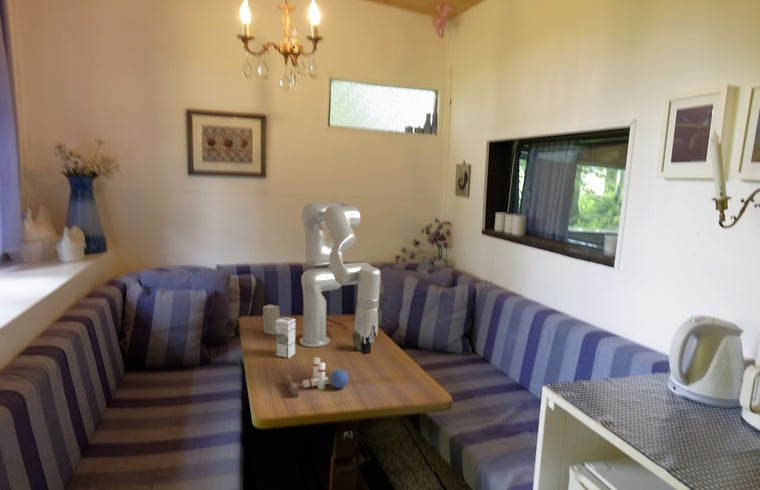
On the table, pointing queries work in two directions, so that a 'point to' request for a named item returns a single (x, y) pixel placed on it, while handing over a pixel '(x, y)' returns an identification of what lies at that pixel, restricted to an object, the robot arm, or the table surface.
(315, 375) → the pin
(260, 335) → the table surface
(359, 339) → the cup
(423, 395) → the table surface
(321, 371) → the pin
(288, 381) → the back wall
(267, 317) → the skincare box
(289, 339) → the syrup box
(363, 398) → the table surface
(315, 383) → the front pin
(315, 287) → the robot arm
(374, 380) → the table surface
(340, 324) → the glasses
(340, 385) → the ball
